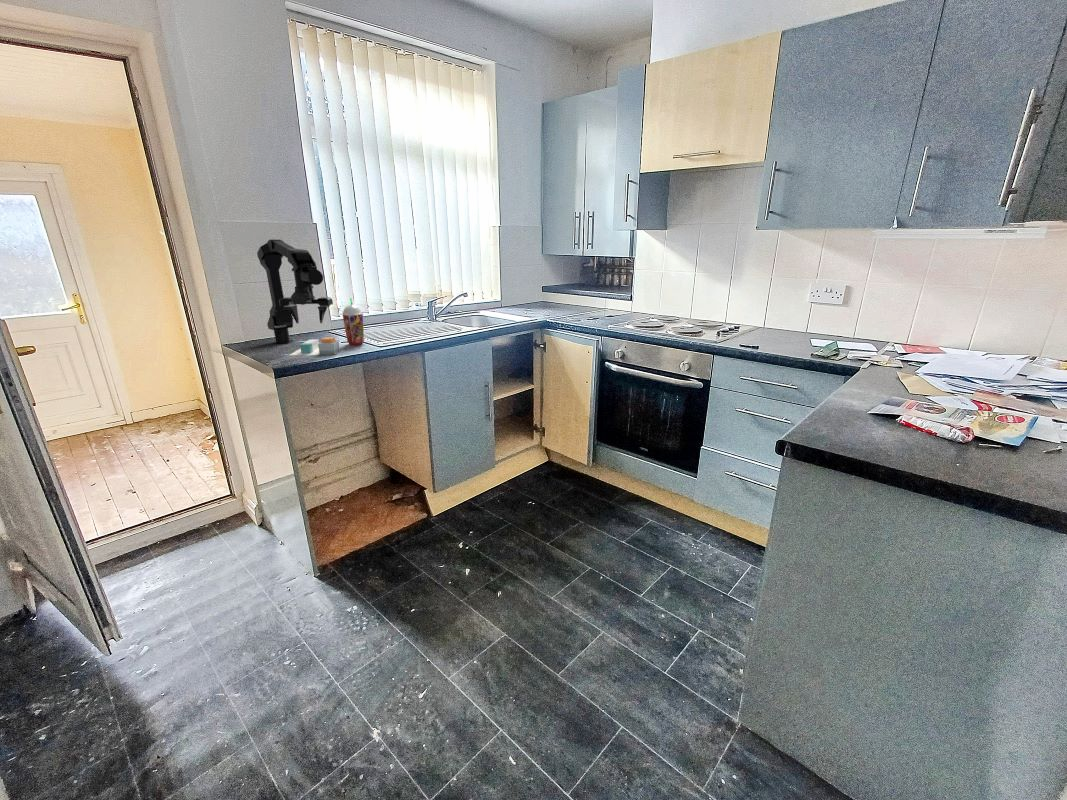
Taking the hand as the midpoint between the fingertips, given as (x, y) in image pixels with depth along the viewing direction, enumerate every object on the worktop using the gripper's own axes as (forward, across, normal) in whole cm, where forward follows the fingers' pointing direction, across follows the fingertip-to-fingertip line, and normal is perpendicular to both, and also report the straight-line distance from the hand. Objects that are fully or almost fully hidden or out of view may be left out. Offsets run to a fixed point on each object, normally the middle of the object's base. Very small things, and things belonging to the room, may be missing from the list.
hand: (309, 323), depth 187 cm
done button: (+8, +8, -3) cm, 12 cm away
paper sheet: (+11, -2, +1) cm, 12 cm away
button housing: (+12, +8, -3) cm, 14 cm away
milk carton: (+11, -2, +1) cm, 12 cm away
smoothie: (+12, +13, +13) cm, 22 cm away
